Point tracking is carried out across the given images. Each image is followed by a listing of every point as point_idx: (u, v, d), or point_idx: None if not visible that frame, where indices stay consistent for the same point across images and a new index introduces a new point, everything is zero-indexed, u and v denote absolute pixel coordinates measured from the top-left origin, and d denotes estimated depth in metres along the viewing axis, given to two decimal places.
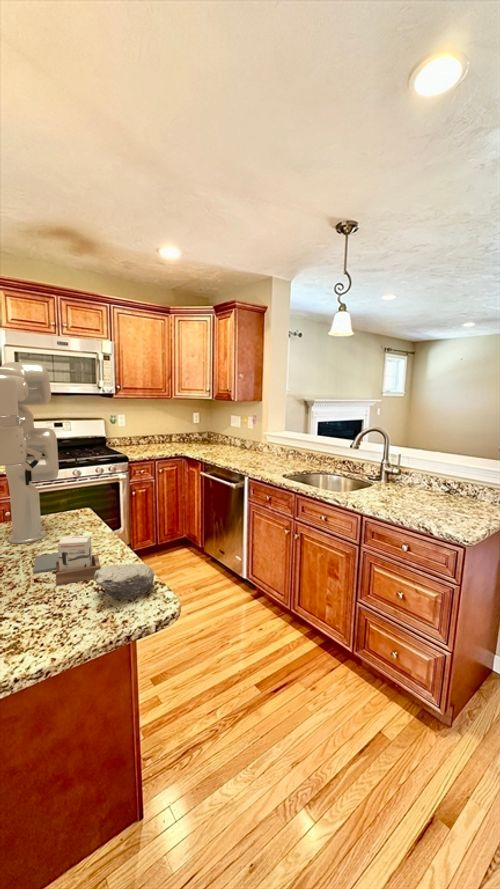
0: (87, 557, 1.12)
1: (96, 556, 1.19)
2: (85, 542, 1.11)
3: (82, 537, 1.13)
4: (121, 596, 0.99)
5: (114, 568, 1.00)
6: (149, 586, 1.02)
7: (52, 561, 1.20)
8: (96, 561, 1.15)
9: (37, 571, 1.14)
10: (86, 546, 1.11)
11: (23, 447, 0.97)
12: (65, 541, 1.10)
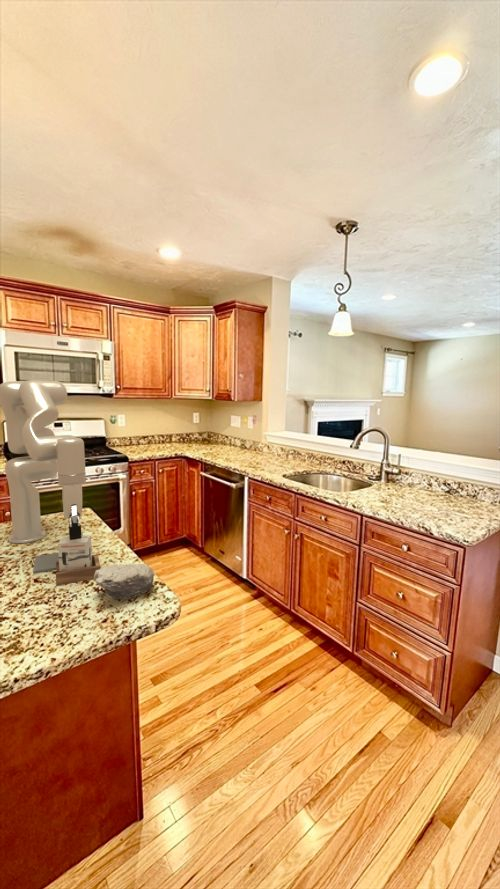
0: (87, 557, 1.12)
1: (96, 556, 1.19)
2: (85, 542, 1.11)
3: (82, 537, 1.13)
4: (121, 596, 0.99)
5: (114, 568, 1.00)
6: (149, 586, 1.02)
7: (52, 561, 1.20)
8: (96, 561, 1.15)
9: (37, 571, 1.14)
10: (86, 546, 1.11)
11: None
12: (65, 541, 1.10)
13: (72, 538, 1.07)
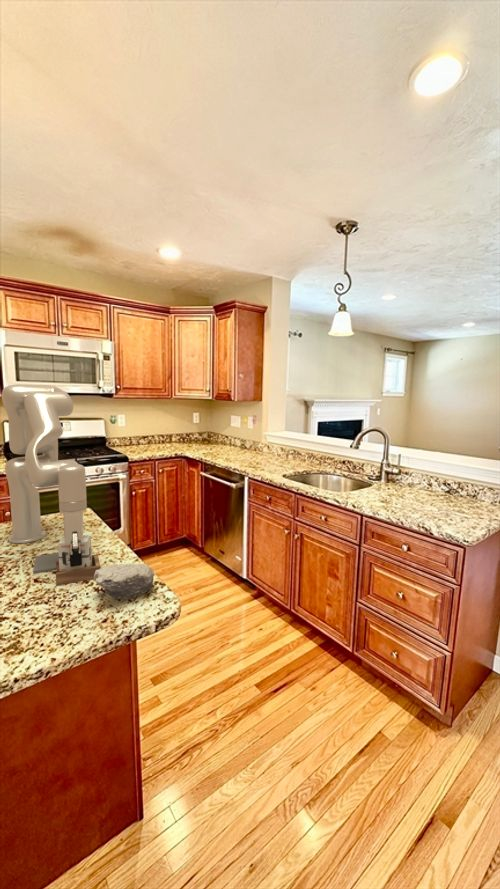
0: (87, 557, 1.12)
1: (96, 556, 1.19)
2: (85, 542, 1.11)
3: None
4: (121, 596, 0.99)
5: (114, 568, 1.00)
6: (149, 586, 1.02)
7: (52, 561, 1.20)
8: (96, 561, 1.15)
9: (37, 571, 1.14)
10: (86, 546, 1.11)
11: None
12: None
13: (73, 565, 1.10)
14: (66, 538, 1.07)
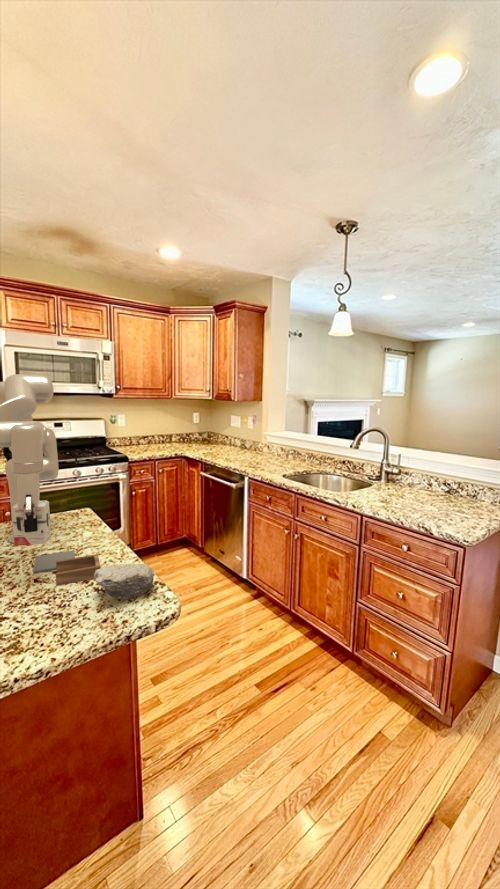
0: (44, 523, 1.06)
1: (96, 556, 1.19)
2: (41, 507, 1.05)
3: (39, 502, 1.07)
4: (120, 596, 0.99)
5: (114, 568, 1.00)
6: (149, 586, 1.02)
7: (52, 561, 1.20)
8: (96, 561, 1.15)
9: (37, 571, 1.14)
10: (42, 511, 1.05)
11: None
12: None
13: (27, 531, 1.04)
14: (19, 501, 1.00)
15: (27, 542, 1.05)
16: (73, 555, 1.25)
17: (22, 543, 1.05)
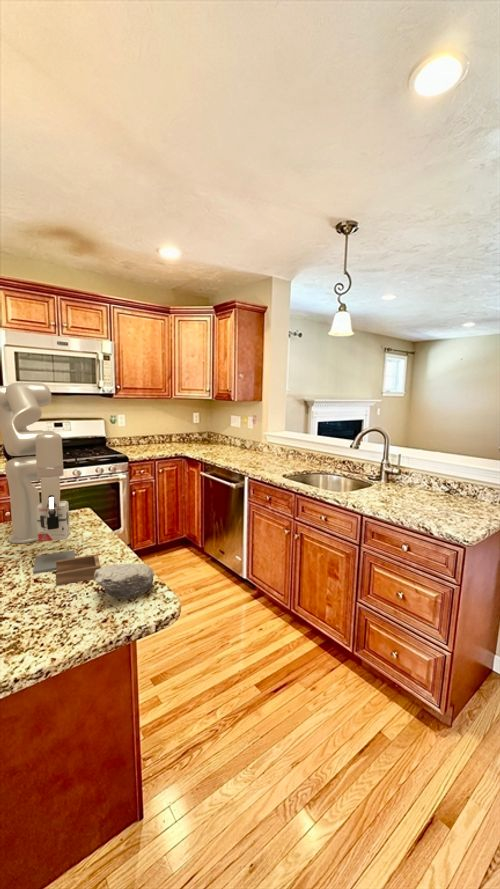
0: (64, 520, 1.18)
1: (96, 556, 1.19)
2: (62, 506, 1.18)
3: (60, 502, 1.20)
4: (120, 595, 0.99)
5: (114, 567, 1.00)
6: (148, 586, 1.02)
7: (52, 561, 1.20)
8: (96, 561, 1.15)
9: (37, 571, 1.14)
10: (63, 510, 1.18)
11: None
12: None
13: (50, 528, 1.16)
14: (43, 501, 1.13)
15: (49, 538, 1.18)
16: (73, 555, 1.25)
17: (45, 539, 1.18)
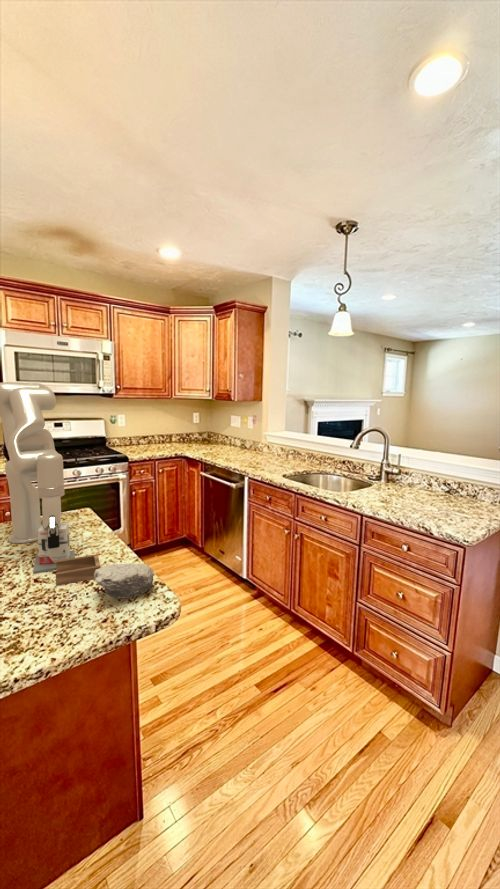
0: (66, 543, 1.20)
1: (96, 556, 1.19)
2: (64, 529, 1.19)
3: (60, 525, 1.21)
4: (120, 595, 0.99)
5: (113, 567, 1.01)
6: (148, 586, 1.02)
7: None
8: (96, 561, 1.15)
9: (37, 571, 1.14)
10: (64, 533, 1.19)
11: None
12: None
13: (50, 547, 1.16)
14: (44, 521, 1.14)
15: (51, 561, 1.19)
16: (73, 555, 1.25)
17: (46, 562, 1.19)
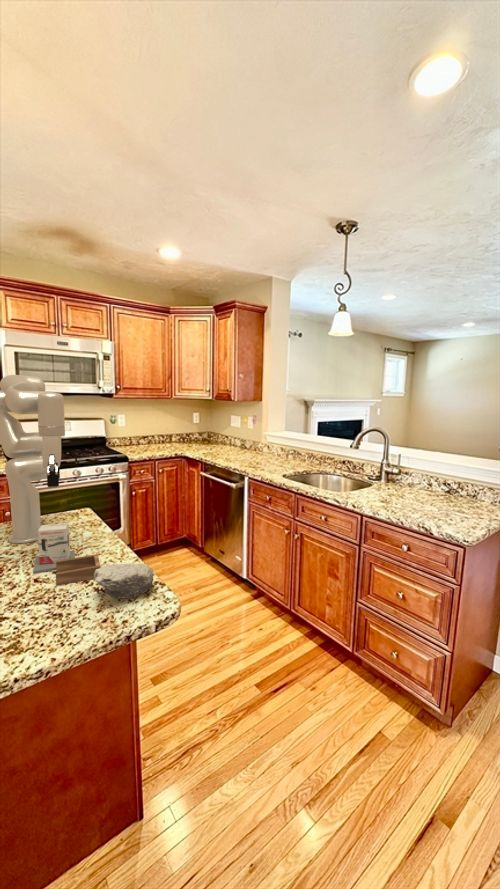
0: (66, 543, 1.20)
1: (96, 556, 1.19)
2: (64, 529, 1.19)
3: (60, 525, 1.21)
4: (120, 595, 0.99)
5: (113, 567, 1.01)
6: (148, 586, 1.02)
7: None
8: (96, 561, 1.15)
9: (37, 571, 1.14)
10: (64, 533, 1.19)
11: None
12: (44, 528, 1.18)
13: (50, 485, 1.15)
14: (44, 460, 1.14)
15: (51, 561, 1.19)
16: (73, 555, 1.25)
17: (46, 562, 1.19)
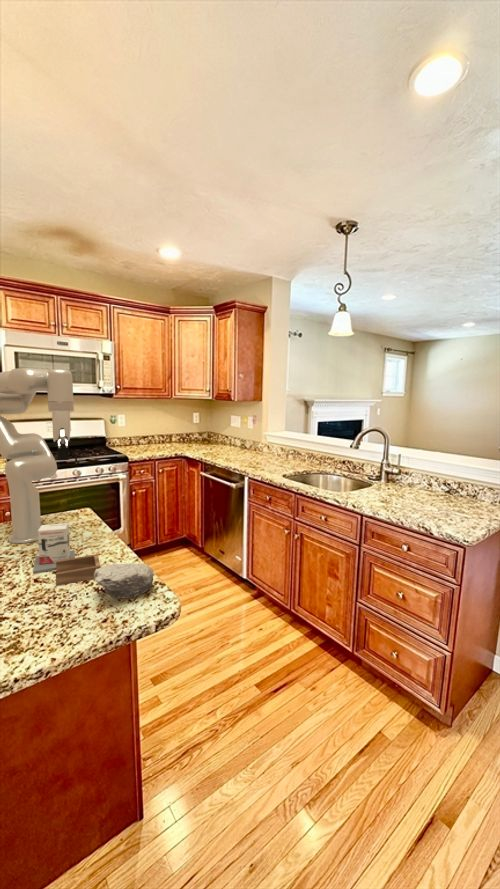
0: (66, 543, 1.20)
1: (96, 556, 1.19)
2: (64, 529, 1.19)
3: (60, 525, 1.21)
4: (120, 595, 0.99)
5: (113, 567, 1.01)
6: (148, 586, 1.03)
7: None
8: (96, 561, 1.15)
9: (37, 571, 1.14)
10: (64, 533, 1.19)
11: None
12: (44, 528, 1.18)
13: (60, 459, 1.19)
14: (54, 433, 1.18)
15: (51, 561, 1.19)
16: (73, 555, 1.25)
17: (46, 562, 1.19)
